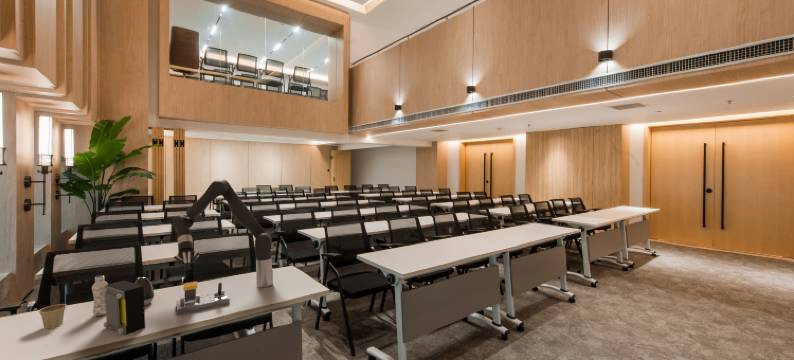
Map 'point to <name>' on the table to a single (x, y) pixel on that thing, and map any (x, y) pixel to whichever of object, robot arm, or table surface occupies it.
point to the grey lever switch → (203, 302)
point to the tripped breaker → (190, 291)
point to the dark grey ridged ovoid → (146, 289)
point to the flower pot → (52, 315)
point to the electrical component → (124, 307)
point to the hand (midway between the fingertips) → (187, 269)
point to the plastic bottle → (99, 296)
